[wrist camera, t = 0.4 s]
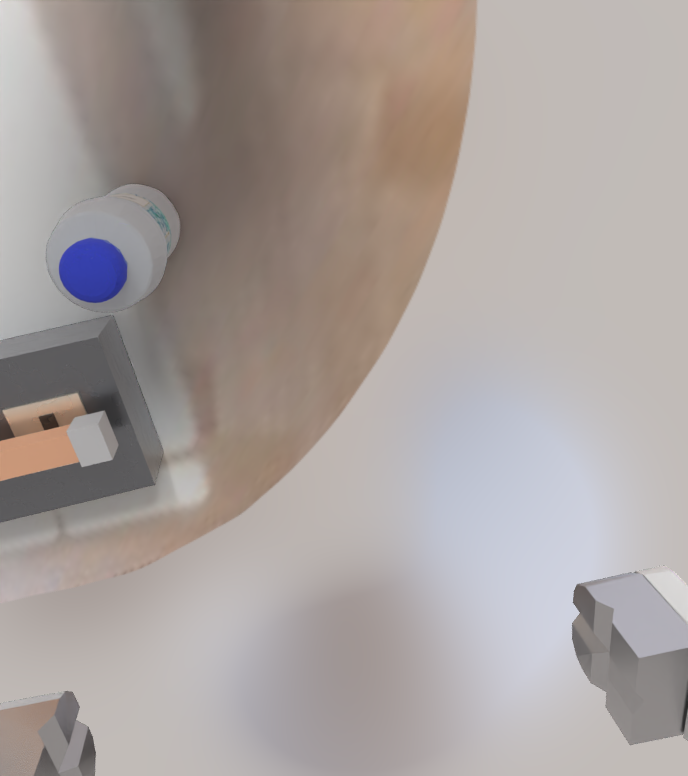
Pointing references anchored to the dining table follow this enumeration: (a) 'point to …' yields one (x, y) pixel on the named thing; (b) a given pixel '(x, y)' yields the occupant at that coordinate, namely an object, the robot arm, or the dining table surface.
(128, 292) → the bottle
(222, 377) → the dining table surface
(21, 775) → the robot arm
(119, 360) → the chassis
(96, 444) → the swing arm
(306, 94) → the dining table surface
